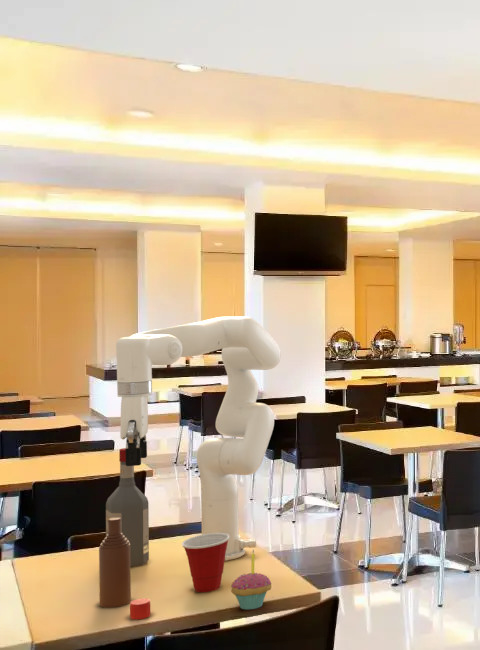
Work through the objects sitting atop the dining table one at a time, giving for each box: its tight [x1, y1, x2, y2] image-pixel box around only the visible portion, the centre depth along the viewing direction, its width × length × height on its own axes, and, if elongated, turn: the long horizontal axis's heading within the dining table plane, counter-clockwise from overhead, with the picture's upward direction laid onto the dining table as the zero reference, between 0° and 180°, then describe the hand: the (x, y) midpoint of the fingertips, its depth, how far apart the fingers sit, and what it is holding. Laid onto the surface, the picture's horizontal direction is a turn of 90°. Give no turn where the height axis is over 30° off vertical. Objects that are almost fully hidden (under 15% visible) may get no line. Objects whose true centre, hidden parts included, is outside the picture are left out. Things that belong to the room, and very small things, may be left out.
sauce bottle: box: [98, 517, 132, 609], centre depth 197 cm, size 6×6×19 cm
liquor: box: [105, 447, 150, 569], centre depth 228 cm, size 9×9×30 cm
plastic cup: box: [181, 533, 230, 593], centre depth 206 cm, size 11×11×12 cm
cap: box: [129, 598, 152, 620], centre depth 187 cm, size 4×4×3 cm
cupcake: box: [230, 549, 272, 611], centre depth 193 cm, size 9×8×12 cm
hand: (136, 461), depth 205 cm, fingers open, 9 cm apart
